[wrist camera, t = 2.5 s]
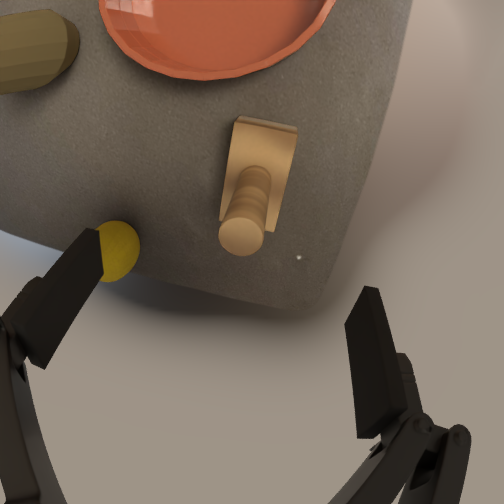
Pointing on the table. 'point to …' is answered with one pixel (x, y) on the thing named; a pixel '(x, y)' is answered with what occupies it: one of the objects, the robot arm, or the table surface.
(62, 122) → the table surface
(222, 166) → the table surface
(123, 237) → the lemon
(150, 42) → the terracotta bowl
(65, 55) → the squeeze bottle
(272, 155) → the wooden peg stand
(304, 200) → the table surface
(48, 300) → the robot arm
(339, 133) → the table surface
